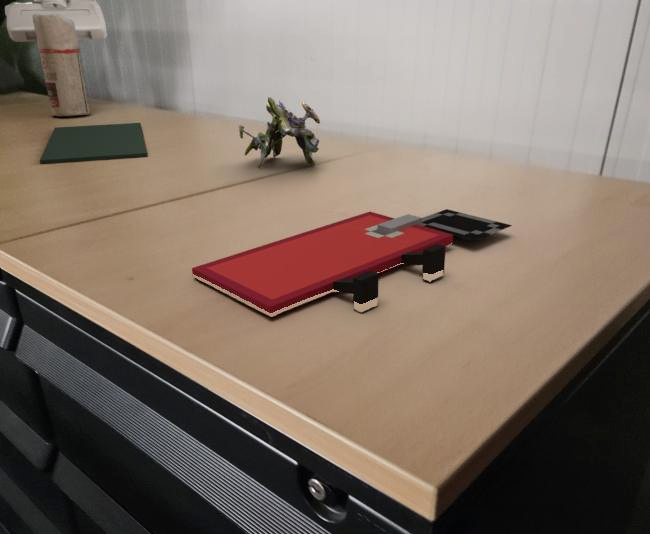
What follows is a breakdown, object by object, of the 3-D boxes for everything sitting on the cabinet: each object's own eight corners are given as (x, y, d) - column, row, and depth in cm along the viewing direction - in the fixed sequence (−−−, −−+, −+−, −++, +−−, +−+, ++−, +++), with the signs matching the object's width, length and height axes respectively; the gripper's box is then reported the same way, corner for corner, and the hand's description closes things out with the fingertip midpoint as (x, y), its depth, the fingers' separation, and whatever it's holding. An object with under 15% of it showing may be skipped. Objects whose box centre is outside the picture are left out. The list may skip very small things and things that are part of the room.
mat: (40, 164, 94) (39, 160, 94) (55, 130, 119) (54, 127, 119) (148, 156, 98) (147, 152, 98) (140, 125, 123) (140, 122, 123)
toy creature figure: (309, 199, 95) (339, 142, 86) (242, 195, 91) (266, 134, 81) (292, 145, 100) (319, 86, 91) (228, 138, 95) (249, 75, 86)
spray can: (50, 114, 137) (29, 13, 127) (89, 111, 140) (72, 12, 130) (51, 119, 130) (30, 13, 121) (92, 117, 133) (74, 12, 123)
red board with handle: (527, 238, 63) (414, 209, 73) (531, 211, 61) (415, 185, 71) (302, 340, 45) (193, 282, 55) (301, 305, 44) (189, 253, 54)
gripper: (0, -10, 132) (4, 43, 128) (100, -10, 137) (107, 41, 133) (8, 13, 137) (12, 65, 134) (104, 13, 143) (111, 62, 139)
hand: (60, 53), depth 134 cm, fingers closed
